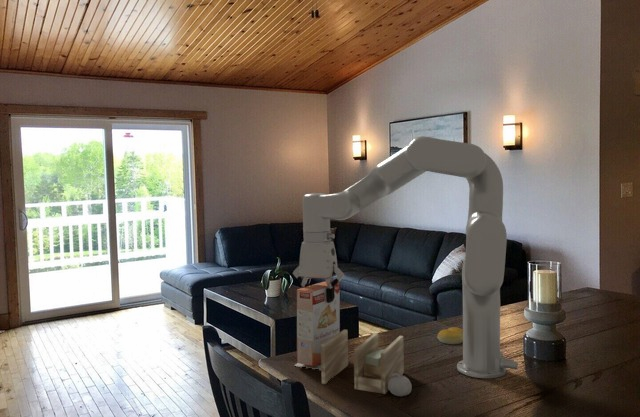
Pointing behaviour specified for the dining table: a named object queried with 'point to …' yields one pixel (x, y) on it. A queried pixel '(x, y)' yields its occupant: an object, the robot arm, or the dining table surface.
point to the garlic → (399, 385)
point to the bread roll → (451, 336)
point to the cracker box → (315, 321)
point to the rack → (361, 361)
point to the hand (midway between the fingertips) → (318, 300)
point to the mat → (309, 366)
